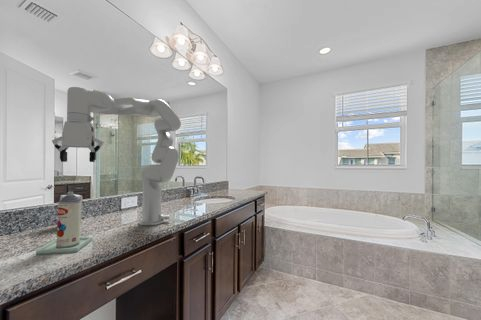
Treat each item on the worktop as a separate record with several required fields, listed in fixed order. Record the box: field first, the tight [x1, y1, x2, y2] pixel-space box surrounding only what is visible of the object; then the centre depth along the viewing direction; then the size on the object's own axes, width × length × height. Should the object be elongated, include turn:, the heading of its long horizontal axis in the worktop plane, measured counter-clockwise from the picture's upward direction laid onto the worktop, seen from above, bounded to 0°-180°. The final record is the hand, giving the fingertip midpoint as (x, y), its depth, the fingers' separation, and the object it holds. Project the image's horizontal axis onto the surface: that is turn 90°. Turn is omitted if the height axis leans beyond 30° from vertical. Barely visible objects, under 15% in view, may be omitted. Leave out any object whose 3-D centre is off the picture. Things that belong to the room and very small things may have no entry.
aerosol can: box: [56, 191, 82, 249], centre depth 79 cm, size 7×7×20 cm
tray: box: [35, 236, 94, 256], centre depth 79 cm, size 12×12×2 cm
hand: (78, 161), depth 84 cm, fingers open, 9 cm apart
